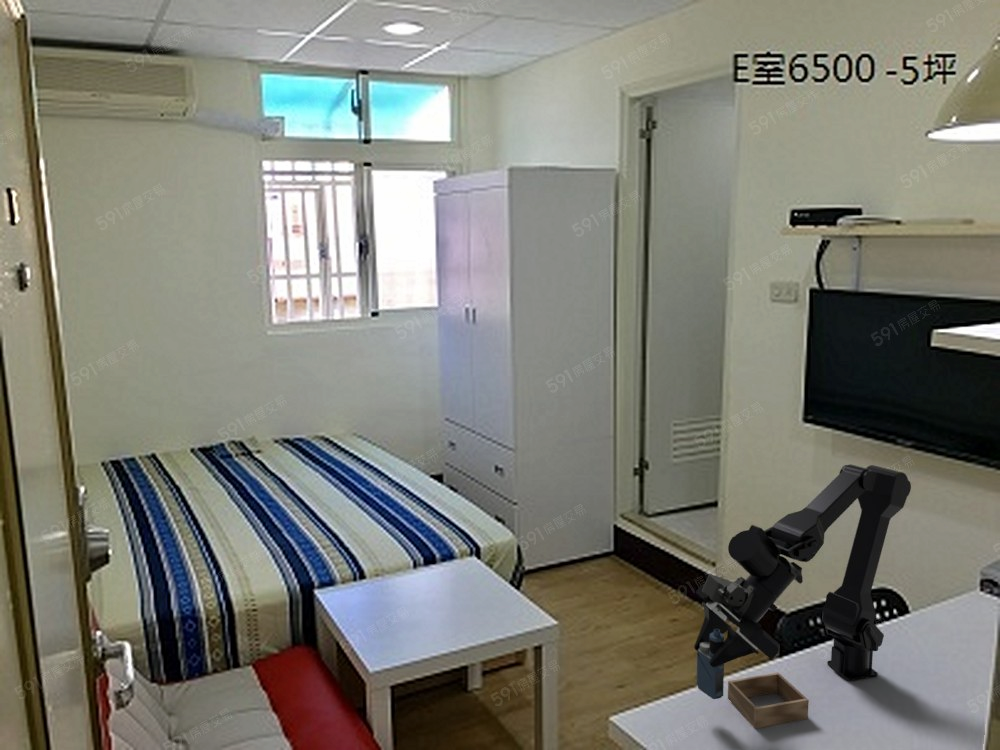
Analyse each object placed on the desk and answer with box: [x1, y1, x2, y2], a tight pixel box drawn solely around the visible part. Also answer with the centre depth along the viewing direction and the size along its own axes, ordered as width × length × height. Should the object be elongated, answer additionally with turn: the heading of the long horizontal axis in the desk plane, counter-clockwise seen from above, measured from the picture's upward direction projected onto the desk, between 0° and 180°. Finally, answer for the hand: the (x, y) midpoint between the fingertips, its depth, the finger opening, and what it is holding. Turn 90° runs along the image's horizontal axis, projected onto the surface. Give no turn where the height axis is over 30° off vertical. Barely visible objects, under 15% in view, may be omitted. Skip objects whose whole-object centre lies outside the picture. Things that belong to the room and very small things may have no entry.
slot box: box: [727, 672, 810, 729], centre depth 137 cm, size 10×9×4 cm
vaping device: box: [696, 629, 725, 700], centre depth 133 cm, size 3×5×12 cm, turn 28°
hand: (703, 657), depth 132 cm, fingers closed on vaping device, 5 cm apart
